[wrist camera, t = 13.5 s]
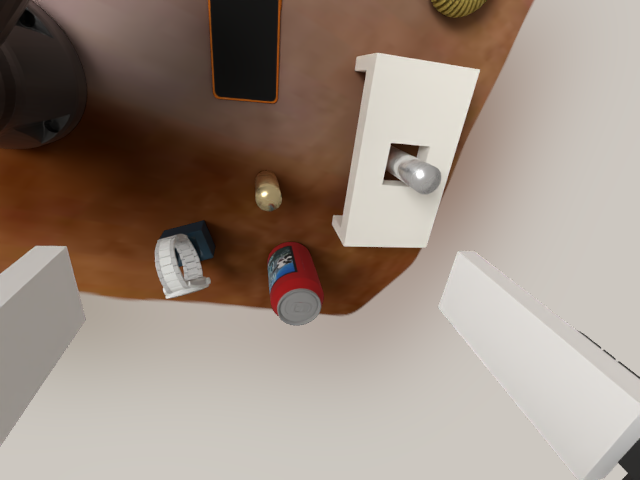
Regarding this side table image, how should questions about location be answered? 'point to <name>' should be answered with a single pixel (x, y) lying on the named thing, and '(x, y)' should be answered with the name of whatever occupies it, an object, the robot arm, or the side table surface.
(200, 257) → the watch
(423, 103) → the white bench
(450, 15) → the sculpture
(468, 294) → the robot arm
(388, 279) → the side table surface
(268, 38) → the smartphone
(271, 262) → the beverage can
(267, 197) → the short brass pin
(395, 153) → the tall steel pin
